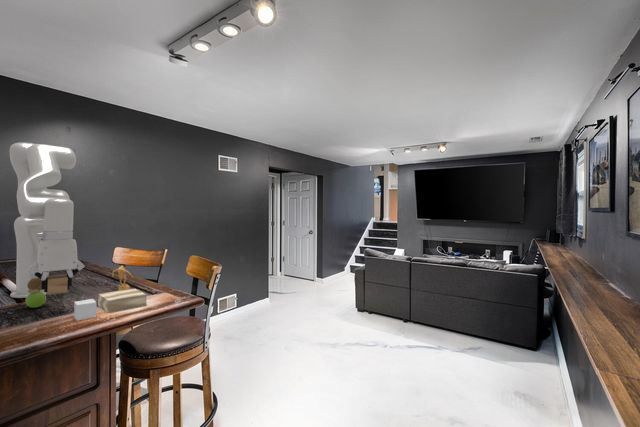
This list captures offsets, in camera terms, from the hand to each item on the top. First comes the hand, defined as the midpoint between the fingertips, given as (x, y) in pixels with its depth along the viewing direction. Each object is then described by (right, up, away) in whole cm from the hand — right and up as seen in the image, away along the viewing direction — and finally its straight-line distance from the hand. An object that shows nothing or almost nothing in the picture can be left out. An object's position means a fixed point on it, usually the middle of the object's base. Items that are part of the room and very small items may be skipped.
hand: (56, 289), depth 105 cm
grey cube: (+12, -8, -3) cm, 15 cm away
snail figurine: (-11, -8, +5) cm, 14 cm away
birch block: (+16, -9, +10) cm, 20 cm away
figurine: (+7, -8, +24) cm, 26 cm away
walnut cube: (0, -1, 0) cm, 1 cm away
